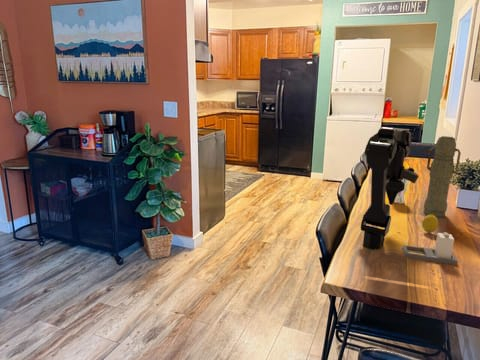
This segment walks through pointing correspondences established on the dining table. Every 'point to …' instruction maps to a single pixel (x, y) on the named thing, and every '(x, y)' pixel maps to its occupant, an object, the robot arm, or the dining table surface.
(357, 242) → the dining table surface
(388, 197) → the robot arm
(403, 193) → the grey marbled block
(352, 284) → the dining table surface
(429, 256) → the socket panel
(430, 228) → the lemon
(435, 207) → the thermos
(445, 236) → the plug
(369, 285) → the dining table surface
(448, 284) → the dining table surface
